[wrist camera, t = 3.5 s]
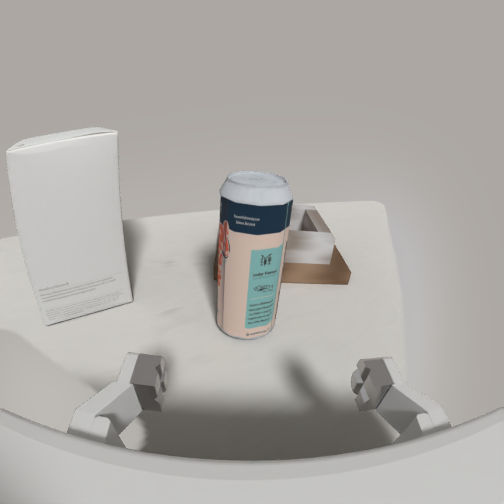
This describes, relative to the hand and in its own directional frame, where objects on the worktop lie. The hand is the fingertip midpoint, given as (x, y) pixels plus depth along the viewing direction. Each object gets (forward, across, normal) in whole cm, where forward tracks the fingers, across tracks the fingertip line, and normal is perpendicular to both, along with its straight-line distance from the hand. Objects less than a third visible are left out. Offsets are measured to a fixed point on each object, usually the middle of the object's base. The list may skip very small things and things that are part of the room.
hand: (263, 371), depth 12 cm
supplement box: (+14, -16, -7) cm, 22 cm away
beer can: (+11, 0, -7) cm, 13 cm away
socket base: (+24, +4, -7) cm, 25 cm away
